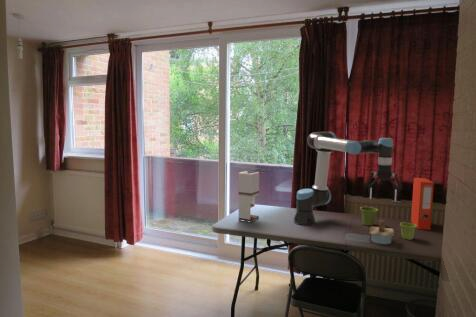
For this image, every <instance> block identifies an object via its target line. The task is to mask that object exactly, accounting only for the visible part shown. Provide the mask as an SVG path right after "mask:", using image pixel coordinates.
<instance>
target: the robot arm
mask: <svg viewBox="0 0 476 317" xmlns="http://www.w3.org/2000/svg"><path fill="white" fill-rule="evenodd" d="M306 142H307V145H308V147H309V148H311V149H315V151H316V152H317V156H316V165H315V166H316V168H315V177H314V184H313V185H312V186H311V188H302V189H299V190H298V191H297V192H296V212H295V215H294V217H293V223H294V222H295V223H294V224H296V223H298V224H297V225H300V224H302V225H301V226H312V224H313V225H315V224H316V218H315V214H314V207H320V206H325V205H327V204H329V203H330V202H331V199H332V193H331V191H330V189H329V187H328V186H327V185H328V177H329V166H330V160H331V154H332V153H333V151H338V152H345V153H348V154H349V155H359V154H361V155H362V154H378V155H377V171H371V176H370V177H369V178H368V180H367V182H366V183H365V188H367V190H368V191H367V192H368V193H367V194H369V199H370V200H372V196H373V195H372V194H373V191H372V190H373V186H374V185H375V184H376V183H377V182H378V181H379V180H381V181H388V182H390V183H391V185H392V186H393V187H394V188H395V189H394V202H397V197H398V196H400V195H399V194H400V191H402V190H403V186H402V184H401V182H400V179H399V177H398V174H397V172H394V173H392V167H393V166H392V164H393V149H394V144H393V142H394V139H393V138H391V137H380V138H378V140H370V139H366V140H365V139H364V140H351V139H343V138H338V137H337V136H336V134H335V133H334V132H333V131H314V132H311V133H310V134H309V135H308V136H307V140H306ZM375 176H377V178H375V180H373V181H372V179H373V178H374V177H375ZM392 176H393V178H394V179H395V181H396V183H397V184H396V183H395V182H394V180H393V179H392V178H391V177H392ZM371 181H372V182H371Z"/></svg>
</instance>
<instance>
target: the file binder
mask: <svg viewBox="0 0 476 317" xmlns="http://www.w3.org/2000/svg"><path fill="white" fill-rule="evenodd" d="M412 183H413V188H412V198H411V199H412V201H411V215H410V223H412V224H415V225H416V229H418V230H426V231H431V229H432V228H431V226H432V212H433V201H434V186H435V183H434V182H433V181H432V180H429V179H427V178H426V177H414V178H413V182H412Z"/></svg>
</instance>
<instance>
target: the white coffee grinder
mask: <svg viewBox="0 0 476 317" xmlns="http://www.w3.org/2000/svg"><path fill="white" fill-rule="evenodd" d="M248 172H249V171H247V170H245V171H240V172H238V221H239V220H244V221H243V222H245V221H250V222H252V221H253V222H255V221H257V220H258V219H257V218H259V219H260V217H259V215H254V214H251V208H253V207H255V201H256V200H255V199H256V197H257V196H260V172H259V171H256V172H252V173H248ZM256 219H257V220H256ZM254 220H255V221H254ZM250 222H249V223H250ZM253 222H252V223H253Z"/></svg>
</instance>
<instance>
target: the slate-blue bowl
mask: <svg viewBox="0 0 476 317" xmlns="http://www.w3.org/2000/svg"><path fill="white" fill-rule="evenodd" d="M370 241H371V242H373V243H376V244H380V245H389V244H390V245H391V244H392V236H384V235H375V234H370Z"/></svg>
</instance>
